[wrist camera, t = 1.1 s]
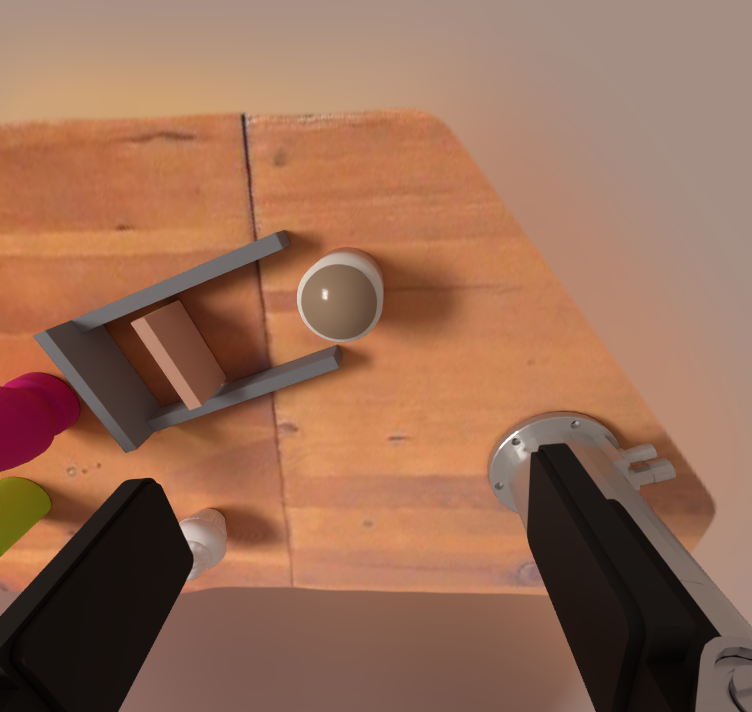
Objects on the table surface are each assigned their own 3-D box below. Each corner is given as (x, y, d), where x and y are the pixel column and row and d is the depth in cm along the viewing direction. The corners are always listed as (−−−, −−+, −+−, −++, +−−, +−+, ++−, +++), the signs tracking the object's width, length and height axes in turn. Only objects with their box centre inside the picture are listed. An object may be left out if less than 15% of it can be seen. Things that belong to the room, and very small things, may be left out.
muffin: (246, 512, 41) (220, 570, 35) (226, 545, 44) (198, 605, 37) (193, 489, 40) (156, 545, 34) (176, 524, 42) (138, 583, 36)
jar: (368, 235, 29) (363, 245, 24) (394, 304, 31) (395, 328, 26) (300, 263, 30) (280, 278, 25) (330, 328, 32) (317, 355, 27)
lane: (284, 229, 29) (264, 236, 25) (342, 356, 33) (335, 381, 29) (82, 316, 33) (32, 335, 28) (158, 420, 37) (125, 452, 32)
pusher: (179, 299, 32) (143, 317, 27) (226, 378, 34) (202, 406, 30) (167, 304, 32) (130, 322, 27) (215, 382, 35) (189, 410, 30)
